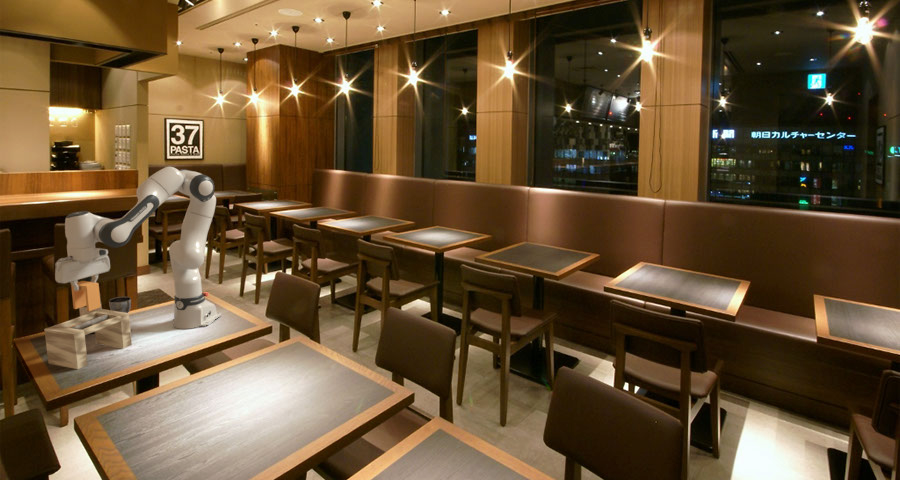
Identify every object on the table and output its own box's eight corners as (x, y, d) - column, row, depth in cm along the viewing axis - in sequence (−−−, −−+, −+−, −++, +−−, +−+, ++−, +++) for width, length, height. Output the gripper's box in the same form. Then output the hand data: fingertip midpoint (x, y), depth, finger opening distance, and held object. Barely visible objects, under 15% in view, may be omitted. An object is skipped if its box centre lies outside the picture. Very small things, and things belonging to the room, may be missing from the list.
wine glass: (137, 329, 229) (134, 297, 226) (124, 335, 221) (121, 303, 218) (121, 327, 230) (118, 296, 227) (107, 334, 222) (104, 301, 219)
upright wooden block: (85, 304, 202) (83, 280, 200) (100, 307, 201) (98, 283, 199) (73, 308, 198) (71, 284, 196) (89, 311, 196) (86, 286, 194)
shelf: (104, 340, 216) (101, 309, 213) (131, 344, 213) (129, 313, 210) (48, 363, 193) (44, 329, 190) (77, 369, 190) (74, 334, 187)
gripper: (62, 260, 184) (66, 296, 187) (111, 249, 204) (114, 282, 206) (48, 258, 185) (52, 294, 188) (98, 247, 205) (102, 280, 208)
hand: (85, 288), depth 197 cm, fingers closed on upright wooden block, 5 cm apart
